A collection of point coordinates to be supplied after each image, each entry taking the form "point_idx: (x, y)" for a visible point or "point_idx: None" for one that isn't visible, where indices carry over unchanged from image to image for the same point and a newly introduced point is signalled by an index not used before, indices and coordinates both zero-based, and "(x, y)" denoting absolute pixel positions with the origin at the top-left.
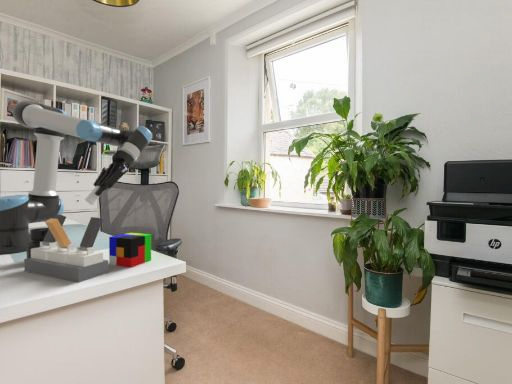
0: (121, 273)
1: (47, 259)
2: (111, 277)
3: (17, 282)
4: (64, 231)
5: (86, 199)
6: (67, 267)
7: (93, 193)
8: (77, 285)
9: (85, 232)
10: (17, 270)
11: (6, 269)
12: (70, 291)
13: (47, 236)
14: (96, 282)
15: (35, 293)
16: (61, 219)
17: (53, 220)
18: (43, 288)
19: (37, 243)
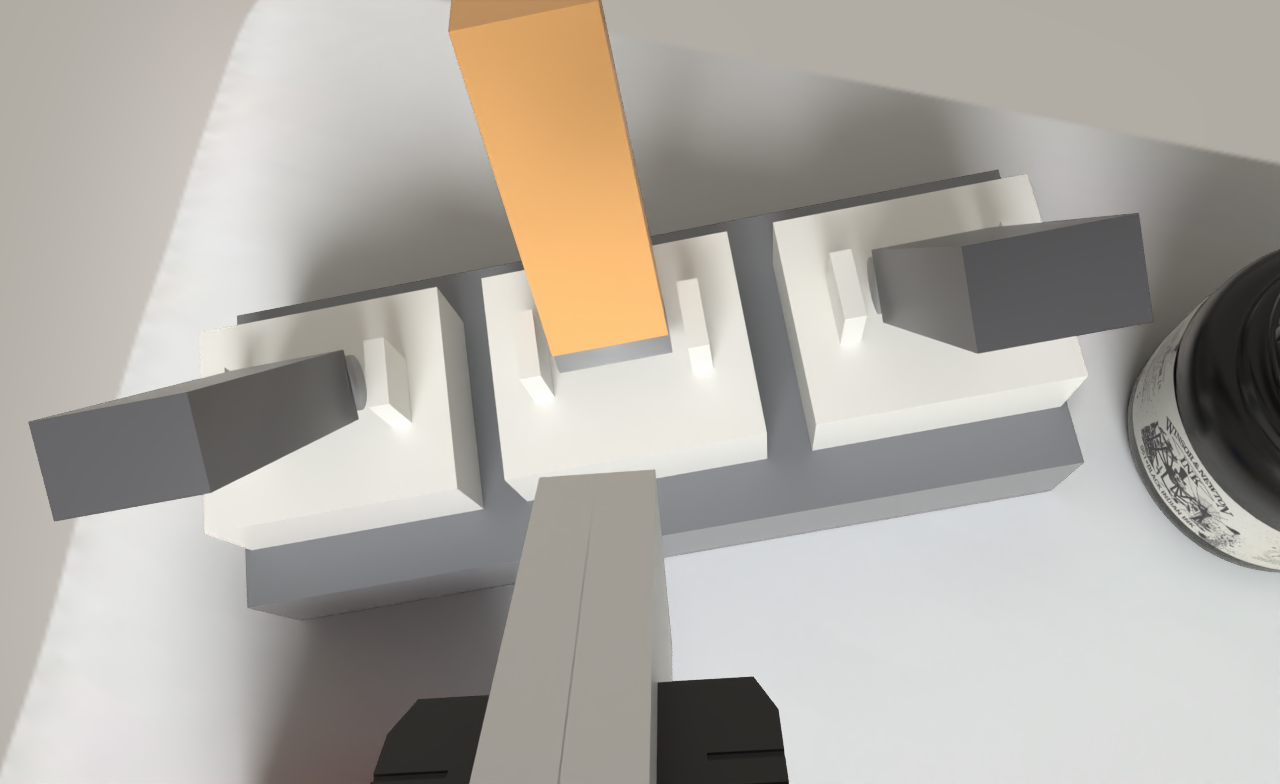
0: (176, 673)
1: (775, 278)
2: (164, 558)
3: (672, 110)
4: (507, 214)
5: (586, 478)
6: (378, 292)
7: (506, 645)
8: (233, 319)
9: (277, 366)
10: (1056, 199)
11: (1175, 155)
12: (168, 244)
13: (958, 234)
14: None
15: (329, 111)
16: (948, 285)
17: (477, 6)
18: (379, 168)
19: (1270, 291)
